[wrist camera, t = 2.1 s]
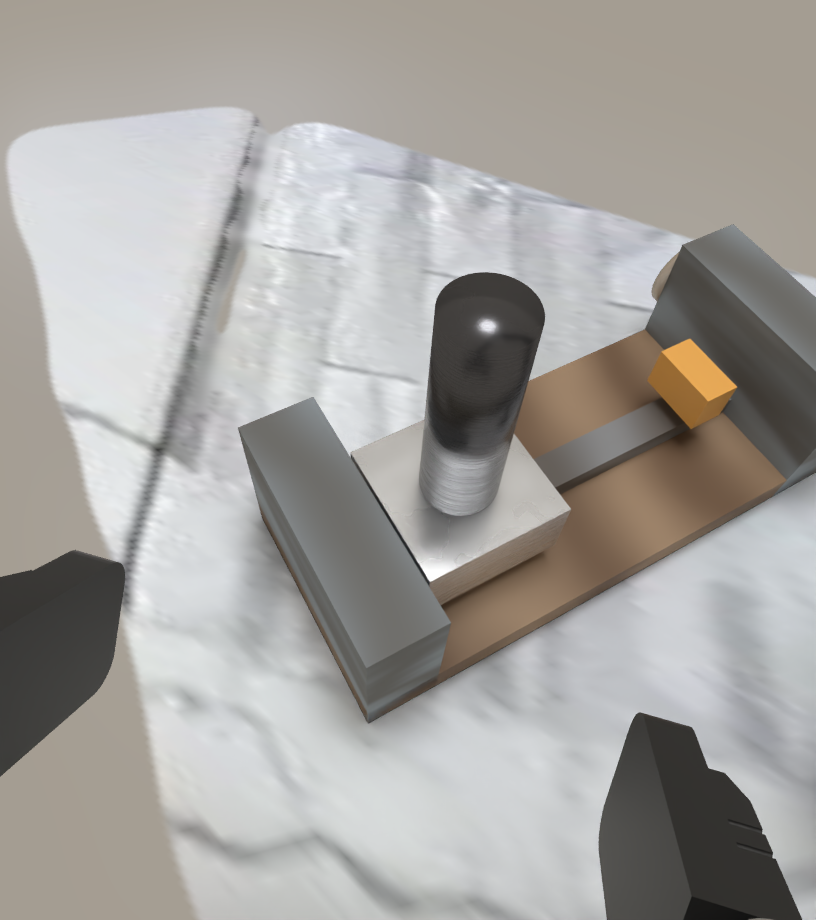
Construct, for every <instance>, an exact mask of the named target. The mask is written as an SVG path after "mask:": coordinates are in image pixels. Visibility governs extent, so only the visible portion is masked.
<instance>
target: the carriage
mask: <svg viewBox="0 0 816 920" xmlns="http://www.w3.org/2000/svg"><path fill="white" fill-rule="evenodd" d="M544 322H545V312H544V308H543V305H542V303H541V301H540V299H539V298H538V296H537V295H536V294H535V293H534V292H533V291H532V290H531V289H530V288H529V287H528V286H527V285H525V284H524V283H522V282H520V281H518V280H516V279H514V278H512V277H509V276H506V275H502V274H497V273H488V272H485V273H473V274H468V275H465V276H462V277H459V278H457V279H455V280H453V281H452V282H450V283H449V284H448V285H446V286H445V287H444V289H443V290H442V291H441V292H440V294H439V296H438V298H437V301H436V304H435V315H434V325H433V336H432V346H431V357H430V367H429V378H428V388H427V398H426V409H425V419H424V420H423V421H420V422H418V423H416V424H414V425H411V426H409V427H407V428H405V429H402V430H400V431H398V432H396V433H393V434H391V435H389V436H386V437H384V438H382V439H380V440H377V441H375V442H373V443H371V444H368V445H366V446H364V447H362V448H359V449H357V450H355V451H352V452H351V460H352V461H353V463H354V464H355V466H356V468H357V469H358V471H359V473H360V474H361V476H362V478H363V479H364V481H365V482H366V484H367V486H368V487H369V489H370V491H371V492H372V494H373V496H374V497H375V499H376V500H377V502H378V504H379V505H380V507H381V509H382V510H383V512H384V514H385V515H386V517H387V518H388V520H389V522H390V523H391V525H392V527H393V528H394V530H395V532H396V533H397V535H398V537H399V538H400V540H401V541H402V543H403V545H404V546H405V548H406V550H407V551H408V553H409V555H410V556H411V558H412V559H413V561H414V563H415V564H416V566H417V568H418V569H419V571H420V573H421V574H422V576H423V577H424V579H425V581H426V582H427V584H428V586H429V587H430V589H431V591H432V592H433V594H434V595H435V597H436V599H437V600H438V602H439V604H440V605H442V604H444V603H446V602H448V601H450V600H451V599H453V598H455V597H457V596H459V595H461V594H463V593H465V592H467V591H469V590H470V589H472V588H474V587H476V586H478V585H480V584H482V583H484V582H486V581H488V580H489V579H491V578H493V577H495V576H497V575H499V574H501V573H503V572H505V571H507V570H508V569H510V568H512V567H514V566H516V565H518V564H520V563H522V562H524V561H525V560H527V559H529V558H531V557H533V556H535V555H537V554H539V553H541V552H543V551H544V550H546V549H548V548H550V547H552V546H554V545H555V543H556V541H557V539H558V537H559V535H560V532H561V530H562V528H563V526H564V524H565V522H566V519H567V517H568V515H569V513H570V511H571V508H570V507H569V506H568V504H567V503H566V502H565V500H564V499H563V498H562V497H561V495H560V494H559V493H558V491H557V490H556V489H555V487H554V486H553V485H552V483H551V482H550V481H549V479H548V478H547V477H546V475H545V474H544V473H543V471H542V470H541V469H540V467H539V466H538V465H537V463H536V462H535V461H534V459H533V458H532V457H531V455H530V454H529V453H528V452H527V450H526V449H525V448H524V446H523V445H522V444H521V442H520V441H519V440H518V438H517V437H516V436H515V434H514V431H515V428H516V424H517V421H518V417H519V413H520V410H521V406H522V402H523V399H524V395H525V392H526V388H527V384H528V381H529V377H530V373H531V370H532V366H533V363H534V359H535V355H536V352H537V348H538V344H539V341H540V337H541V334H542V330H543V326H544Z"/></svg>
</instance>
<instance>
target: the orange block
mask: <svg viewBox="0 0 816 920" xmlns="http://www.w3.org/2000/svg"><path fill="white" fill-rule="evenodd" d="M647 381H648V382H649V383H650V384H651V385H652V387H653V388H654V389H655V390H656V391H657V392H658V393H659V394H660V395H661V397H662V398H663V399H664V400H665V401H666V402H667V403H668V404H669V405H670V406H671V408H672V409H673V410H674V411H675V412H676V413H677V414H678V415H679V416H680V418H681V419H682V420H683V421H684V422H685V423H686V424H687V425H688V426H689V428H690V429H692V428H694V427H696V426H698V425H700V424H702V423H704V422H706V421H708V420H710V419H712V418H714V417H716V416H718V415H719V414H720V413H721V411H722V410H723V408H724V407H725V405H726V404H727V402H728V401H729V399H730V398H731V396H732V395H733V393H734V392H735V390H736V388H737V386H736V385H735V384H734V383H733V382H732V381H731V380H730V379H729V378H728V377H727V376H726V375H725V374H724V373H723V372H722V371H721V370H720V369H719V368H718V367H717V366H716V365H715V364H714V363H713V362H712V360H711V359H710V358H709V357H708V356H707V355H706V354H705V353H704V352H703V351H702V350H701V349H700V348H699V347H698V346H697V345H696V344H695V343H694V342H693V341H692V340H691V339H688V340H685V341H683V342H681V343H679V344H677V345H675V346H672V347H670V348H668V349H666V350H664V351H661V353H660V355H659V357H658V359H657V362H656V364H655V366H654V368H653V370H652V372H651V374H650V376H649V378H648V380H647Z"/></svg>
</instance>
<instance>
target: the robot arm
mask: <svg viewBox="0 0 816 920" xmlns="http://www.w3.org/2000/svg"><path fill="white" fill-rule="evenodd" d="M124 583H125V571H124V567H123V565H122V564H121V563H119V562H115V561H112V560H108V559H105V558H101V557H98V556H94V555H91V554H87V553H84V552H80V551H76V550H74V551H70V552H68V553H66V554H64V555H62V556H60V557H58V558H57V559H55V560H53V561H51V562H49V563H47V564H45V565H43V566H41V567H39V568H37V569H35V570H34V571H32V570H30V571H25V572H21V573H17V574H12V575H8V576H3V577H0V776H1V775H3V774H4V773H5V772H6V771H7V770H8V769H9V768H11V767H12V766H13V765H14V764H15V763H16V762H17V761H19V760H20V759H21V758H22V757H23V756H24V755H25V754H27V753H28V752H29V751H30V750H31V749H32V748H33V747H35V746H36V745H37V744H38V743H39V742H40V741H41V740H43V739H44V738H45V737H46V736H47V735H48V734H49V733H50V732H52V731H53V730H54V729H55V728H56V727H57V726H58V725H60V724H61V723H62V722H63V721H64V720H65V719H67V718H68V717H69V716H70V715H71V714H72V713H73V712H75V711H76V710H77V709H78V708H79V707H80V706H81V705H82V704H84V703H85V702H86V701H87V700H88V699H89V698H90V697H91V696H93V695H94V694H95V693H96V692H97V690H98V689H99V688H100V687H101V685H102V684H103V682H104V680H105V678H106V676H107V674H108V672H109V670H110V667H111V664H112V661H113V657H114V652H115V645H116V638H117V631H118V624H119V618H120V611H121V604H122V597H123V590H124ZM762 830H763V829H762V827H761V825H760V822H759V820H758V818H757V815H756V813H755V811H754V809H753V806H752V804H751V802H750V800H749V799H748V798H747V797H746V796H745V795H744V794H743V793H742V792H741V790H740V789H739V788H738V787H737V786H736V785H735V784H734V783H733V782H732V781H731V779H730V778H729V777H728V776H727V775H726V774H725V773H723V772H719V771H716V770H712V769H709V768H708V766H707V764H706V761H705V758H704V756H703V753H702V751H701V748H700V745H699V743H698V740H697V737H696V735H695V732H694V730H693V729H692V727H689V726H686V725H682V724H679V723H675V722H672V721H668V720H665V719H661V718H658V717H654V716H651V715H647V714H644V713H638V714H636V716H635V717H634V719H633V721H632V723H631V725H630V728H629V731H628V734H627V737H626V740H625V743H624V746H623V749H622V753H621V756H620V759H619V762H618V765H617V768H616V771H615V774H614V777H613V780H612V783H611V786H610V789H609V792H608V795H607V798H606V802H605V805H604V809H603V813H602V818H601V823H600V831H599V857H600V865H601V873H602V882H603V890H604V899H605V907H606V915H607V920H802V918H801V916H800V913H799V911H798V909H797V907H796V904H795V902H794V900H793V898H792V895H791V893H790V891H789V888H788V886H787V884H786V882H785V879H784V877H783V875H782V872H781V870H780V868H779V866H778V863H777V861H776V859H773V858H772V855H773V852H772V850H771V847H770V845H769V843H768V840H767V838H766V836H765V835H763V834H762Z"/></svg>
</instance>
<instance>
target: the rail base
mask: <svg viewBox="0 0 816 920" xmlns="http://www.w3.org/2000/svg"><path fill="white" fill-rule="evenodd" d="M652 296H653V298H654V299H655V300H656V301H657V304H656V306H655V308H654V310H653V313H652V315H651V317H650V319H649V322H648V324H647V326H646V328H645V330H643V331H641V332H638V333H636V334H634V335H632V336H629V337H627V338H625V339H623V340H620V341H618V342H616V343H614V344H611V345H609V346H607V347H605V348H602V349H600V350H598V351H596V352H593V353H591V354H589V355H587V356H584V357H582V358H580V359H578V360H575V361H573V362H571V363H569V364H566V365H564V366H562V367H560V368H557V369H555V370H553V371H551V372H548V373H546V374H544V375H542V376H539V377H537V378H535V379H533V380H530V381H528V384H527V388H526V392H525V395H524V399H523V402H522V406H521V410H520V413H519V417H518V421H517V424H516V428H515V431H514V434H515V436H516V437H517V438H518V440H519V441H520V442H521V444H522V445H523V446H524V448H525V449H526V450H527V452H528V453H529V454H530V455H531V457H532V458H533V459H534V461H535V462H536V463H537V465H538V466H539V467H540V469H541V470H542V471H543V473H544V474H545V475H546V477H547V478H548V479H549V481H550V482H551V483H552V485H553V486H554V487H555V489H556V490H557V491H558V493H559V494H560V495H561V497H562V498H563V499H564V500H565V502H566V503H567V504H568V506H569V507H570V508H571V511H570V513H569V515H568V517H567V519H566V522H565V524H564V526H563V528H562V530H561V532H560V535H559V537H558V539H557V541H556V543H555V545H554V546H552V547H550V548H548V549H546V550H544V551H543V552H541V553H539V554H537V555H535V556H533V557H531V558H529V559H527V560H525V561H524V562H522V563H520V564H518V565H516V566H514V567H512V568H510V569H508V570H507V571H505V572H503V573H501V574H499V575H497V576H495V577H493V578H491V579H489V580H488V581H486V582H484V583H482V584H480V585H478V586H476V587H474V588H472V589H470V590H469V591H467V592H465V593H463V594H461V595H459V596H457V597H455V598H453V599H451V600H450V601H448V602H446V603H444V604H442V605H440V604H439V602H438V600H437V599H436V597H435V595H434V594H433V592H432V591H431V589H430V587H429V586H428V584H427V582H426V581H425V579H424V577H423V576H422V574H421V573H420V571H419V569H418V568H417V566H416V564H415V563H414V561H413V559H412V558H411V556H410V555H409V553H408V551H407V550H406V548H405V546H404V545H403V543H402V541H401V540H400V538H399V537H398V535H397V533H396V532H395V530H394V528H393V527H392V525H391V523H390V522H389V520H388V518H387V517H386V515H385V514H384V512H383V510H382V509H381V507H380V505H379V504H378V502H377V500H376V499H375V497H374V496H373V494H372V492H371V491H370V489H369V487H368V486H367V484H366V482H365V481H364V479H363V478H362V476H361V474H360V473H359V471H358V469H357V468H356V466H355V464H354V463H353V461H352V460H351V458H350V456H349V455H348V453H347V451H346V450H345V448H344V446H343V445H342V443H341V441H340V440H339V438H338V437H337V435H336V433H335V432H334V430H333V428H332V427H331V425H330V423H329V422H328V420H327V419H326V417H325V415H324V414H323V412H322V410H321V409H320V407H319V405H318V404H317V402H316V401H315V399H314V397H311V398H309V399H307V400H304V401H302V402H299V403H297V404H294V405H292V406H290V407H287V408H285V409H282V410H280V411H277V412H275V413H273V414H270V415H268V416H265V417H263V418H260V419H258V420H256V421H253V422H251V423H248V424H246V425H243V426H241V427H238V430H239V433H240V437H241V441H242V444H243V448H244V452H245V456H246V459H247V463H248V467H249V470H250V474H251V478H252V481H253V485H254V489H255V493H256V496H257V500H258V504H259V507H260V511H261V515H262V518H263V520H264V522H265V524H266V526H267V528H268V530H269V532H270V534H271V536H272V538H273V540H274V542H275V544H276V546H277V548H278V549H279V551H280V553H281V555H282V557H283V559H284V561H285V563H286V565H287V567H288V569H289V571H290V573H291V575H292V577H293V579H294V581H295V582H296V584H297V586H298V588H299V590H300V592H301V594H302V596H303V598H304V600H305V602H306V604H307V606H308V608H309V610H310V612H311V614H312V615H313V617H314V619H315V621H316V623H317V625H318V627H319V629H320V631H321V633H322V635H323V637H324V639H325V641H326V643H327V645H328V647H329V648H330V650H331V652H332V654H333V656H334V658H335V660H336V662H337V664H338V666H339V668H340V670H341V672H342V674H343V676H344V678H345V680H346V681H347V683H348V685H349V687H350V689H351V691H352V693H353V695H354V697H355V699H356V701H357V703H358V705H359V707H360V709H361V711H362V713H363V714H364V716H365V718H366V720H367V722H368V723H370V722H372V721H374V720H375V719H377V718H379V717H381V716H382V715H384V714H386V713H388V712H390V711H391V710H393V709H395V708H397V707H398V706H400V705H402V704H404V703H406V702H407V701H409V700H411V699H413V698H414V697H416V696H418V695H420V694H422V693H423V692H425V691H427V690H429V689H431V688H432V687H434V686H436V685H438V684H439V683H441V682H443V681H445V680H447V679H448V678H450V677H452V676H454V675H455V674H457V673H459V672H461V671H463V670H464V669H466V668H468V667H470V666H471V665H473V664H475V663H477V662H479V661H480V660H482V659H484V658H486V657H487V656H489V655H491V654H493V653H495V652H496V651H498V650H500V649H502V648H504V647H505V646H507V645H509V644H511V643H512V642H514V641H516V640H518V639H520V638H521V637H523V636H525V635H527V634H528V633H530V632H532V631H534V630H536V629H537V628H539V627H541V626H543V625H544V624H546V623H548V622H550V621H552V620H553V619H555V618H557V617H559V616H561V615H562V614H564V613H566V612H568V611H569V610H571V609H573V608H575V607H577V606H578V605H580V604H582V603H584V602H585V601H587V600H589V599H591V598H593V597H594V596H596V595H598V594H600V593H601V592H603V591H605V590H607V589H609V588H610V587H612V586H614V585H616V584H618V583H619V582H621V581H623V580H625V579H626V578H628V577H630V576H632V575H634V574H635V573H637V572H639V571H641V570H642V569H644V568H646V567H648V566H650V565H651V564H653V563H655V562H657V561H658V560H660V559H662V558H664V557H666V556H667V555H669V554H671V553H673V552H675V551H676V550H678V549H680V548H682V547H683V546H685V545H687V544H689V543H691V542H692V541H694V540H696V539H698V538H699V537H701V536H703V535H705V534H707V533H708V532H710V531H712V530H714V529H715V528H717V527H719V526H721V525H723V524H724V523H726V522H728V521H730V520H731V519H733V518H735V517H737V516H739V515H740V514H742V513H744V512H746V511H748V510H749V509H751V508H753V507H755V506H756V505H758V504H760V503H762V502H764V501H765V500H767V499H769V498H771V497H772V496H774V495H776V494H778V493H780V492H781V491H783V490H785V489H787V488H788V487H790V486H792V485H794V484H796V483H797V482H799V481H801V480H803V479H805V478H806V477H808V476H810V475H812V474H813V473H815V472H816V297H815V296H814V295H812V294H811V293H810V292H809V291H808V290H807V289H806V288H805V287H803V286H802V285H801V284H800V283H799V282H798V281H797V280H796V279H794V278H793V277H792V276H791V275H790V274H789V273H788V272H787V271H785V270H784V269H783V268H782V267H781V266H780V265H779V264H778V263H776V262H775V261H774V260H773V259H772V258H771V257H770V256H769V255H767V254H766V253H765V252H764V251H763V250H762V249H761V248H759V247H758V246H757V245H756V244H755V243H754V242H753V241H752V240H750V239H749V238H748V237H747V236H746V235H745V234H744V233H743V232H741V231H740V230H739V229H738V228H737V227H736V226H735V225H734V224H733V225H730V226H728V227H725V228H723V229H720V230H718V231H715V232H713V233H711V234H708V235H706V236H703V237H701V238H699V239H696V240H694V241H691V242H689V243H686V244H684V245H682V247H681V250H680V252H679V253H677V254H676V255H675V256H674V257H673V258H672V259H671V260H670V261H669V262H668V263H667V264H666V265H665V266H664V268H663V269H662V270H661V271H660V273H659V274H658V276H657V278H656V279H655V282H654V284H653V287H652ZM688 339H691V340H692V341H693V342H694V343H695V344H696V345H697V346H698V347H699V348H700V349H701V350H702V351H703V352H704V353H705V354H706V355H707V356H708V357H709V358H710V359H711V360H712V362H713V363H714V364H715V365H716V366H717V367H718V368H719V369H720V370H721V371H722V372H723V373H724V374H725V375H726V376H727V377H728V378H729V379H730V380H731V381H732V382H733V383H734V384H735V385H736V386H737V388H736V390H735V392H734V393H733V395H732V396H731V398H730V399H729V401H728V402H727V404H726V405H725V407H724V408H723V410H722V411H721V413H720V414H719V415H718V416H716V417H714V418H712V419H710V420H708V421H706V422H704V423H702V424H700V425H698V426H696V427H694V428H692V429H690V428H689V426H688V425H687V424H686V423H685V422H684V421H683V420H682V419H681V418H680V416H679V415H678V414H677V413H676V412H675V411H674V410H673V409H672V408H671V406H670V405H669V404H668V403H667V402H666V401H665V400H664V399H663V398H662V397H661V395H660V394H659V393H658V392H657V391H656V390H655V389H654V388H653V387H652V385H651V384H650V383H649V382H648V381H647V380H648V378H649V376H650V374H651V372H652V370H653V368H654V366H655V364H656V362H657V359H658V357H659V355H660V353H661V351H664V350H666V349H668V348H670V347H672V346H675V345H677V344H679V343H681V342H683V341H685V340H688Z"/></svg>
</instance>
